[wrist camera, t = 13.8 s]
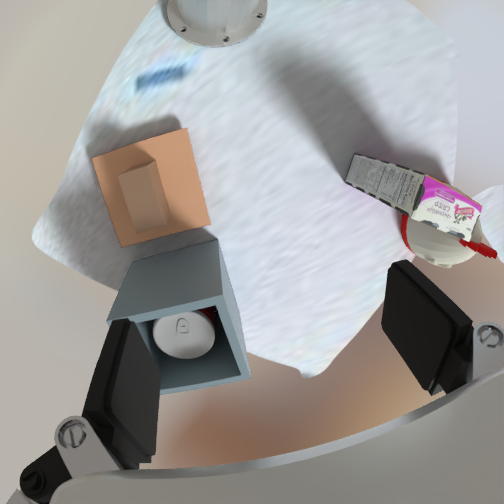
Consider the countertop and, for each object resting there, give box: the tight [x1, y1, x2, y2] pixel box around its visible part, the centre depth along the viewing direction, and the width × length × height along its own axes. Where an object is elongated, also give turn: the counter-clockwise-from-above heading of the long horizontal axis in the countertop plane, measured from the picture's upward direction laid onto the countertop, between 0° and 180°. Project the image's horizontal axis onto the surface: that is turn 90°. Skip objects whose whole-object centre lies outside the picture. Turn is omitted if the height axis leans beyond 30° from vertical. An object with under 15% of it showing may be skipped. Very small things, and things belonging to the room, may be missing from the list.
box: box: [106, 239, 251, 395], centre depth 37 cm, size 13×13×14 cm
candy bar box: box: [345, 153, 482, 242], centre depth 33 cm, size 11×5×16 cm, turn 75°
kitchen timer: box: [401, 181, 498, 268], centre depth 38 cm, size 14×14×15 cm
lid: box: [92, 128, 211, 248], centre depth 33 cm, size 13×13×8 cm
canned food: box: [153, 306, 215, 359], centre depth 39 cm, size 8×8×11 cm
